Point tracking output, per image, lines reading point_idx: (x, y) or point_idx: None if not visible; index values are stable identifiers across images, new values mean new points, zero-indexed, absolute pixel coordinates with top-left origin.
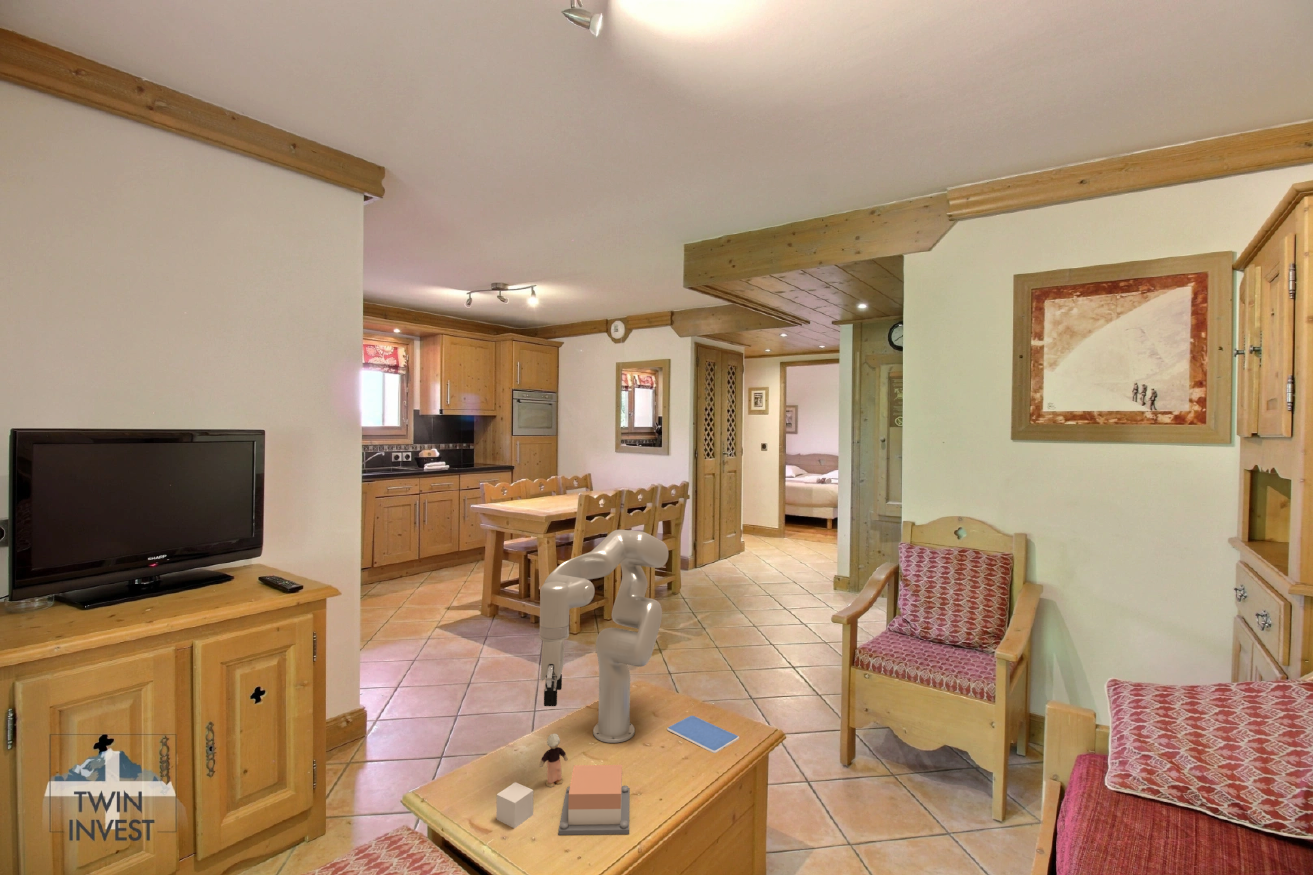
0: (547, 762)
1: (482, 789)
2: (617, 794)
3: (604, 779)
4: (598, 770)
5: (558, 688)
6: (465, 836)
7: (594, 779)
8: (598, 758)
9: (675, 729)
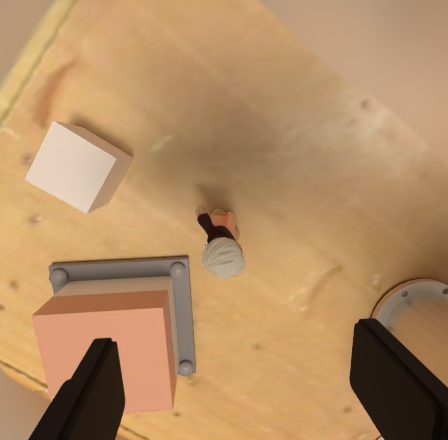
0: (214, 224)
1: (191, 61)
2: None
3: None
4: (144, 365)
5: (354, 377)
6: (15, 71)
7: None
8: (312, 300)
9: None
